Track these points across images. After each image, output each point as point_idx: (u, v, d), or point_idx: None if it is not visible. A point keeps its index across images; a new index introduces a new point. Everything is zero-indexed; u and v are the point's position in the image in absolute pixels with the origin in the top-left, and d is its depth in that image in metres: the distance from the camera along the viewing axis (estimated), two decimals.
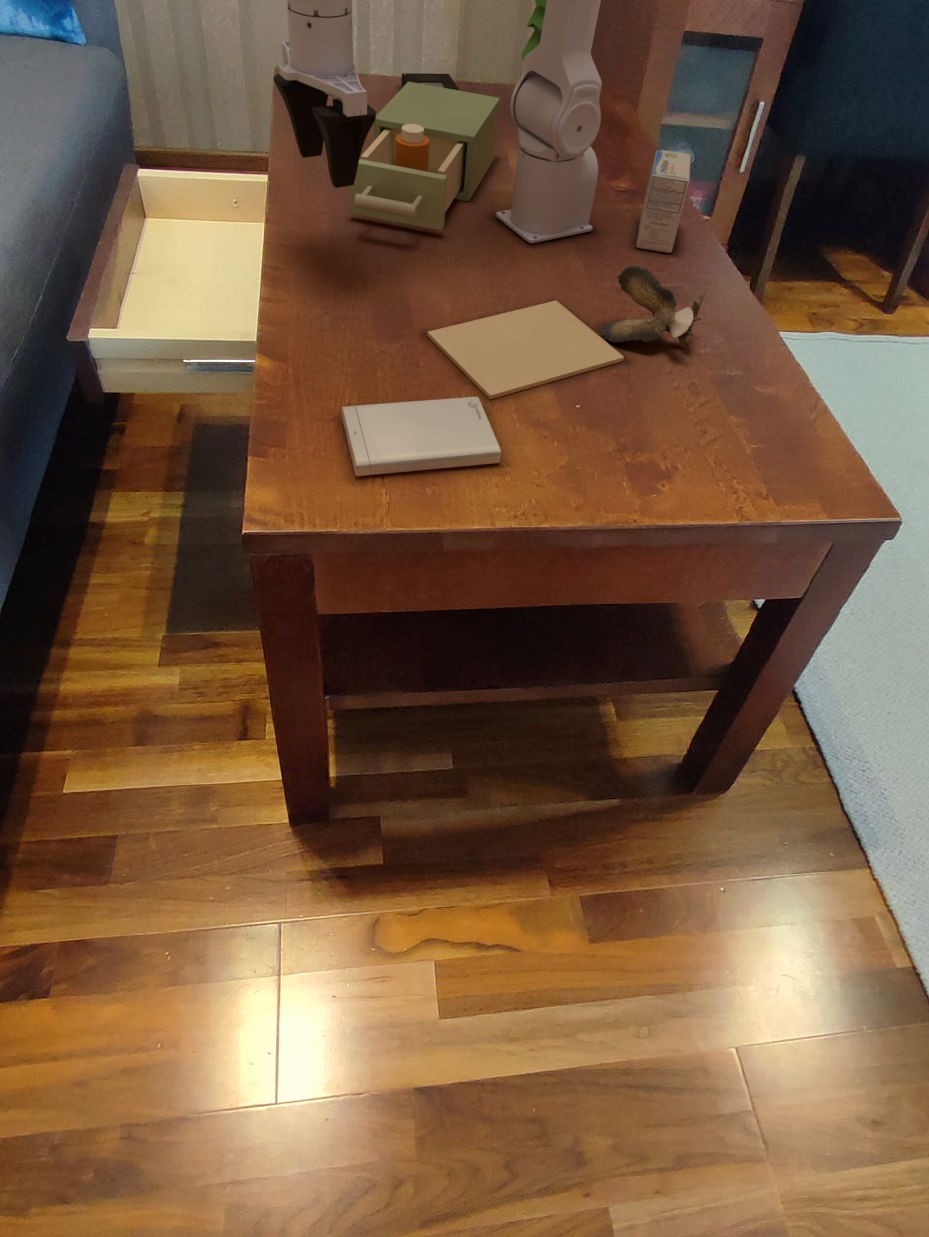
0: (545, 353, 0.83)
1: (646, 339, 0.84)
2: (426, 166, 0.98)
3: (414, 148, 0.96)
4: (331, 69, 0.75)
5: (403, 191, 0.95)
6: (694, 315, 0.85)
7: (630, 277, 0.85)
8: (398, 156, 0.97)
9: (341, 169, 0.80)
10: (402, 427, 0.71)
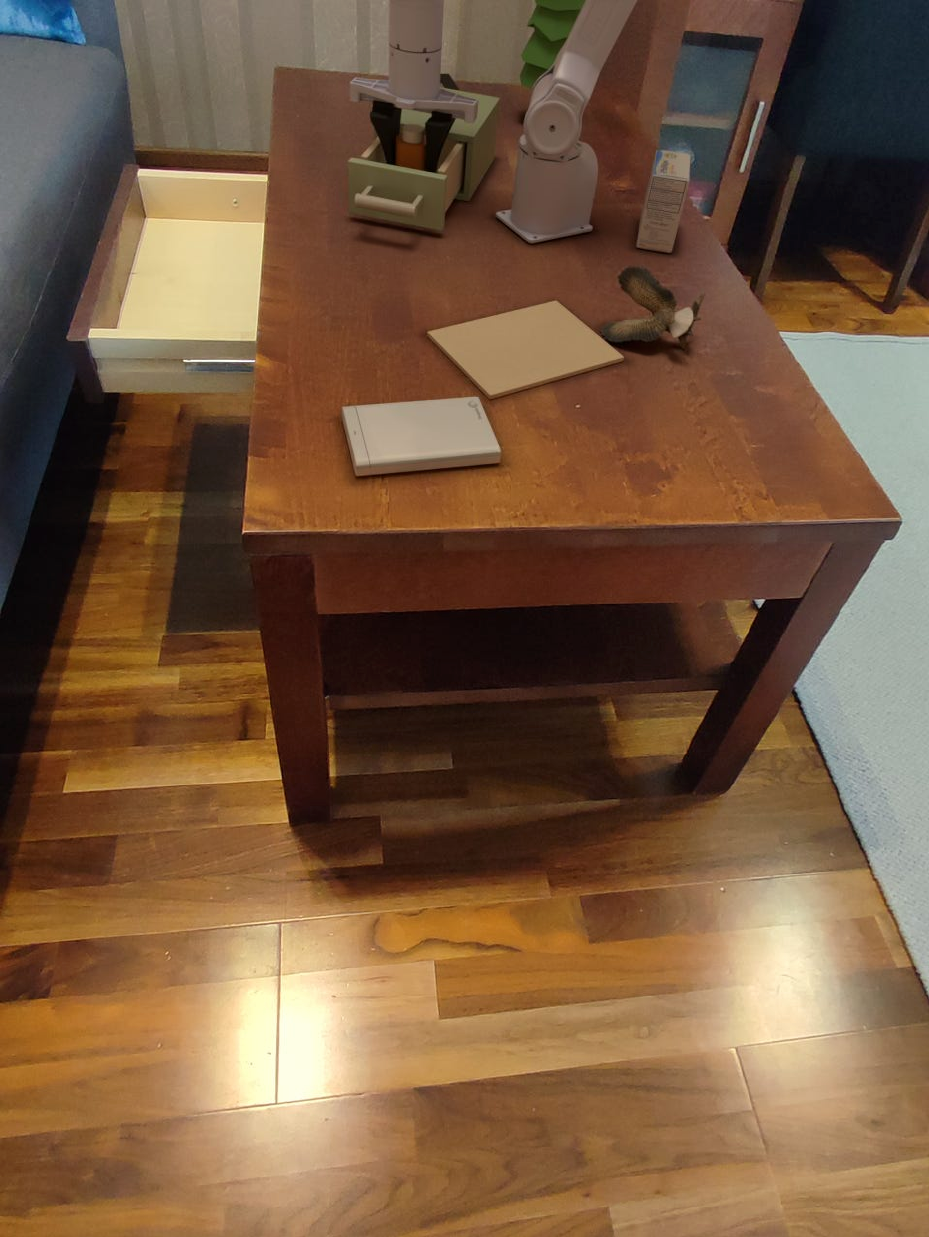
0: (545, 353, 0.83)
1: (646, 339, 0.84)
2: None
3: (414, 148, 0.96)
4: (437, 91, 0.92)
5: (403, 191, 0.95)
6: (694, 315, 0.85)
7: (630, 277, 0.85)
8: (398, 156, 0.97)
9: (433, 167, 0.98)
10: (402, 427, 0.71)
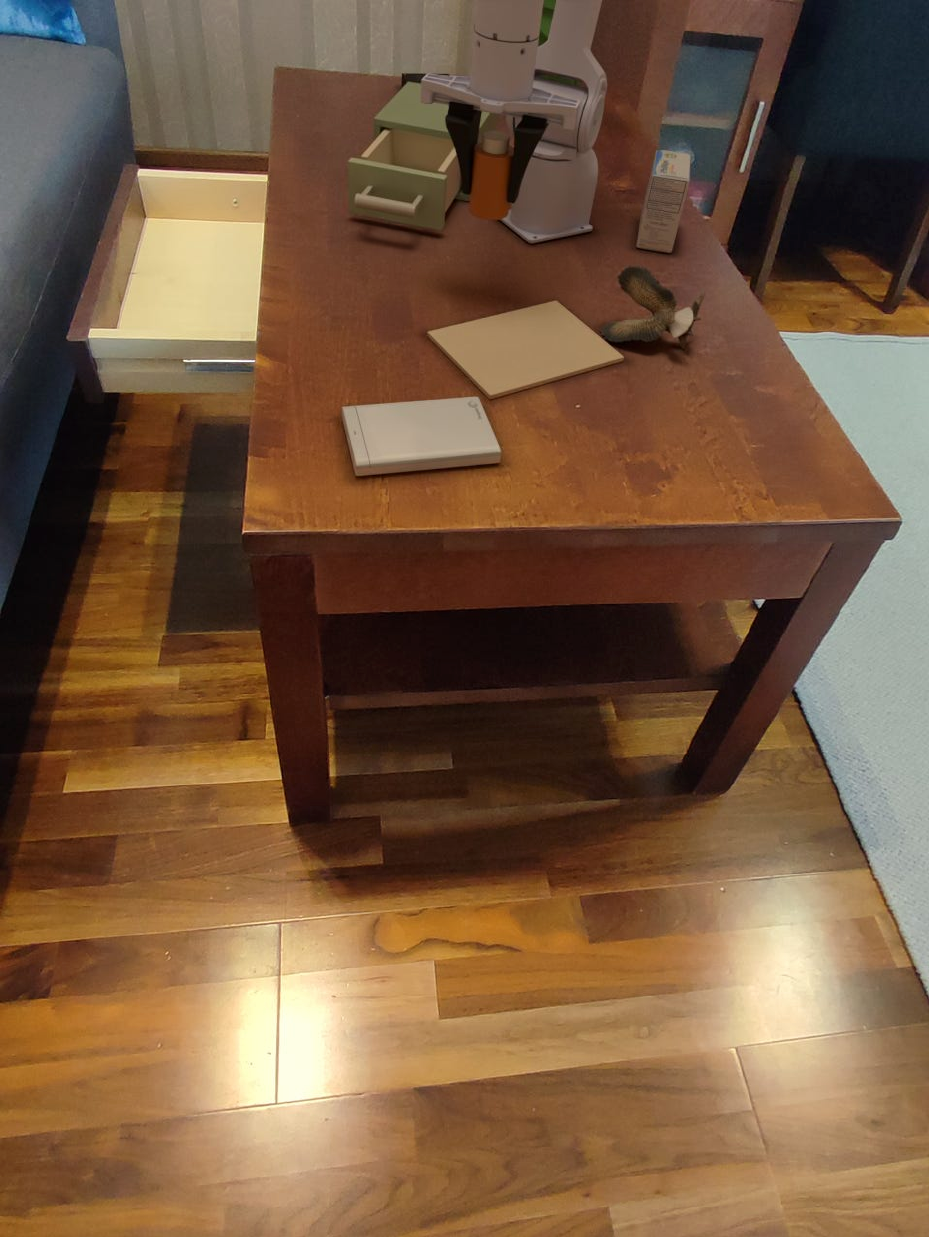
0: (545, 353, 0.83)
1: (646, 339, 0.84)
2: None
3: (498, 160, 0.78)
4: (530, 90, 0.75)
5: (403, 191, 0.95)
6: (694, 315, 0.85)
7: (630, 277, 0.85)
8: (476, 170, 0.80)
9: (519, 183, 0.81)
10: (402, 427, 0.71)
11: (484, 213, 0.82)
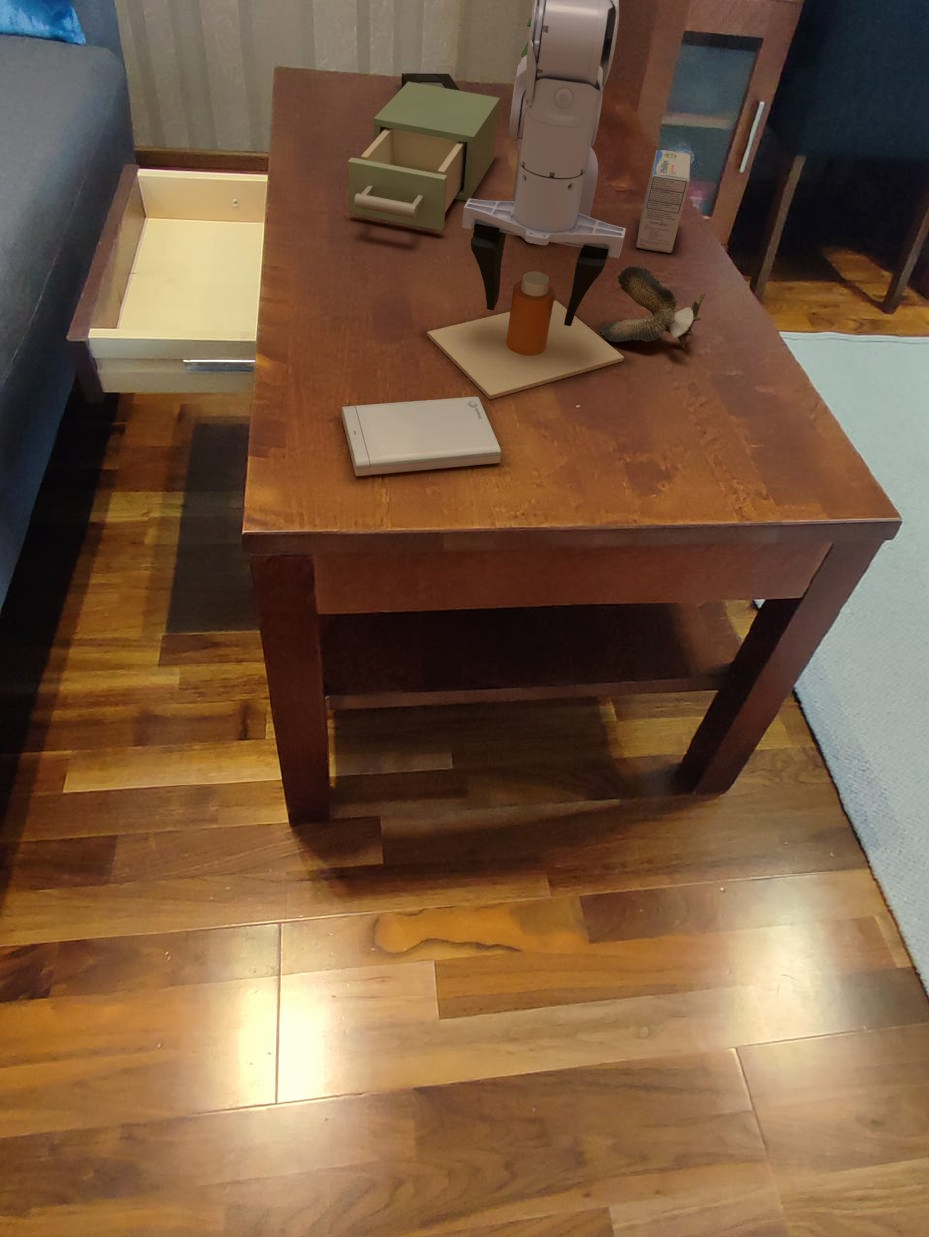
0: (545, 353, 0.83)
1: (646, 339, 0.84)
2: (549, 320, 0.81)
3: (538, 303, 0.78)
4: (576, 219, 0.73)
5: (403, 191, 0.95)
6: (694, 315, 0.85)
7: (630, 277, 0.85)
8: (516, 310, 0.80)
9: None
10: (402, 427, 0.71)
11: (522, 349, 0.82)
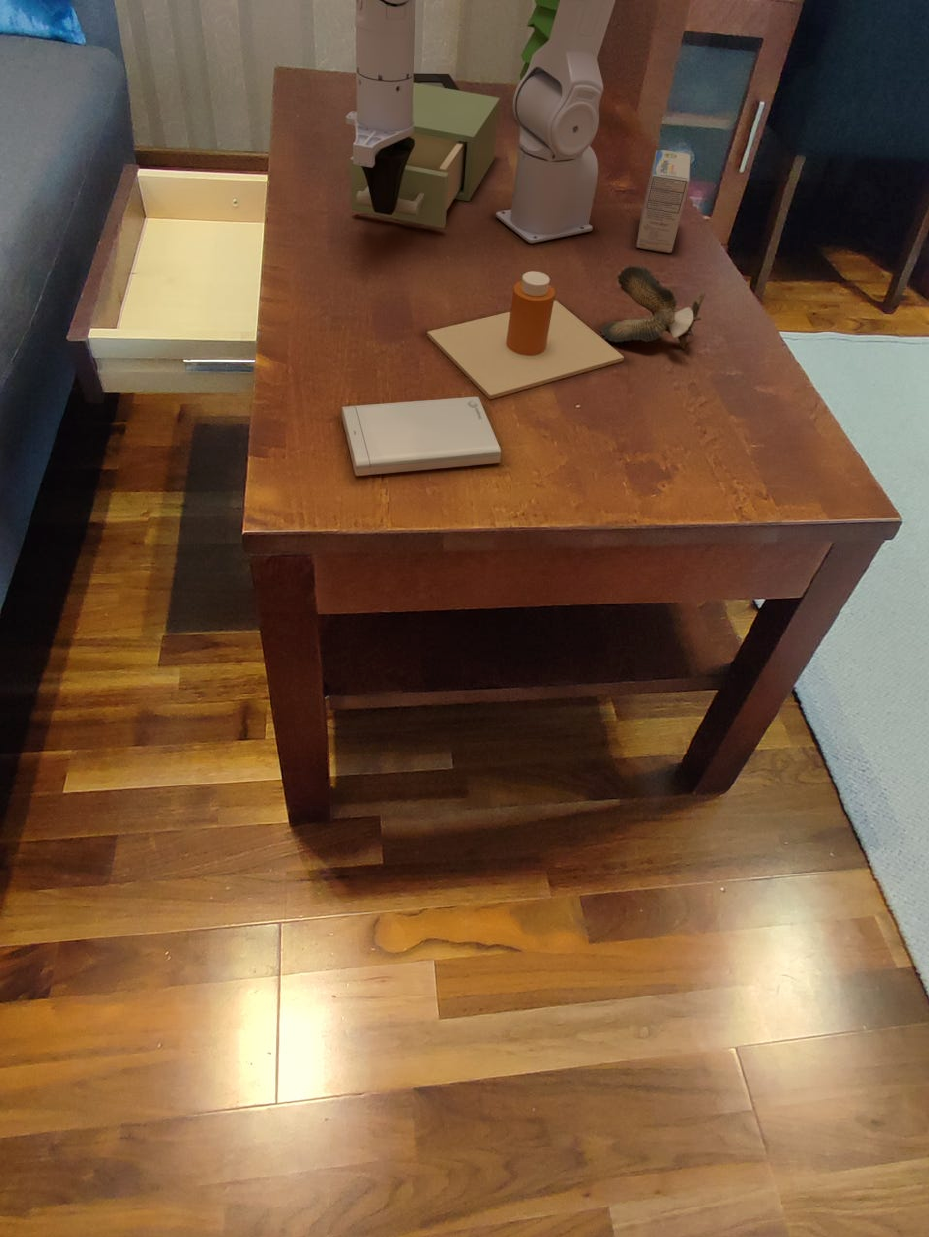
0: (545, 353, 0.83)
1: (646, 339, 0.84)
2: (549, 320, 0.81)
3: (538, 303, 0.78)
4: (372, 124, 0.84)
5: (405, 189, 0.96)
6: (694, 315, 0.85)
7: (630, 277, 0.85)
8: (516, 310, 0.80)
9: (378, 197, 0.91)
10: (402, 427, 0.71)
11: (522, 349, 0.82)
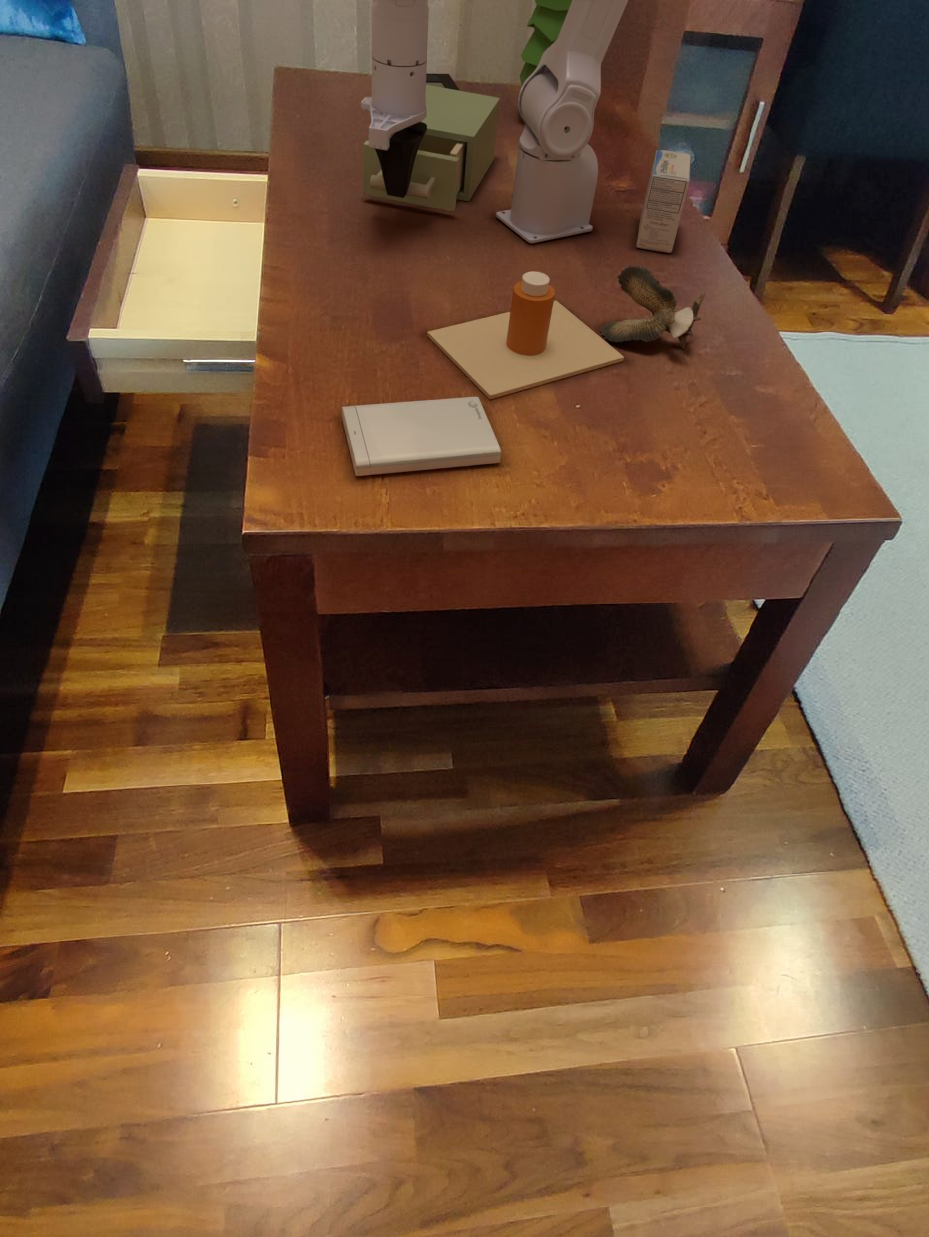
0: (545, 353, 0.83)
1: (646, 339, 0.84)
2: (549, 320, 0.81)
3: (538, 303, 0.78)
4: (387, 108, 0.87)
5: (416, 173, 0.99)
6: (694, 315, 0.85)
7: (630, 277, 0.85)
8: (516, 310, 0.80)
9: (392, 180, 0.94)
10: (402, 427, 0.71)
11: (522, 349, 0.82)
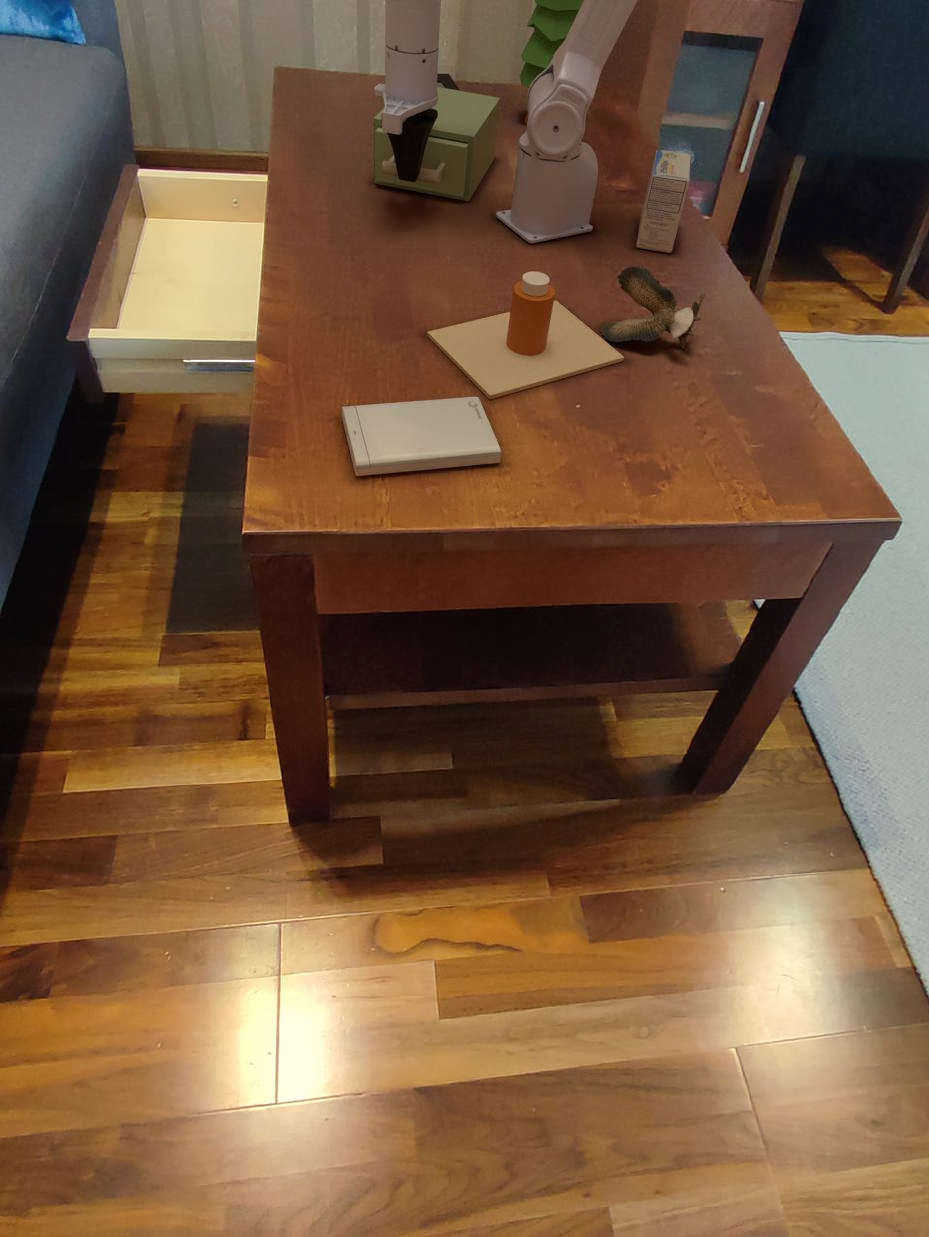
0: (545, 353, 0.83)
1: (646, 339, 0.84)
2: (549, 320, 0.81)
3: (538, 303, 0.78)
4: (400, 94, 0.90)
5: (427, 159, 1.02)
6: (694, 315, 0.85)
7: (630, 277, 0.85)
8: (516, 310, 0.80)
9: (403, 165, 0.97)
10: (402, 427, 0.71)
11: (522, 349, 0.82)
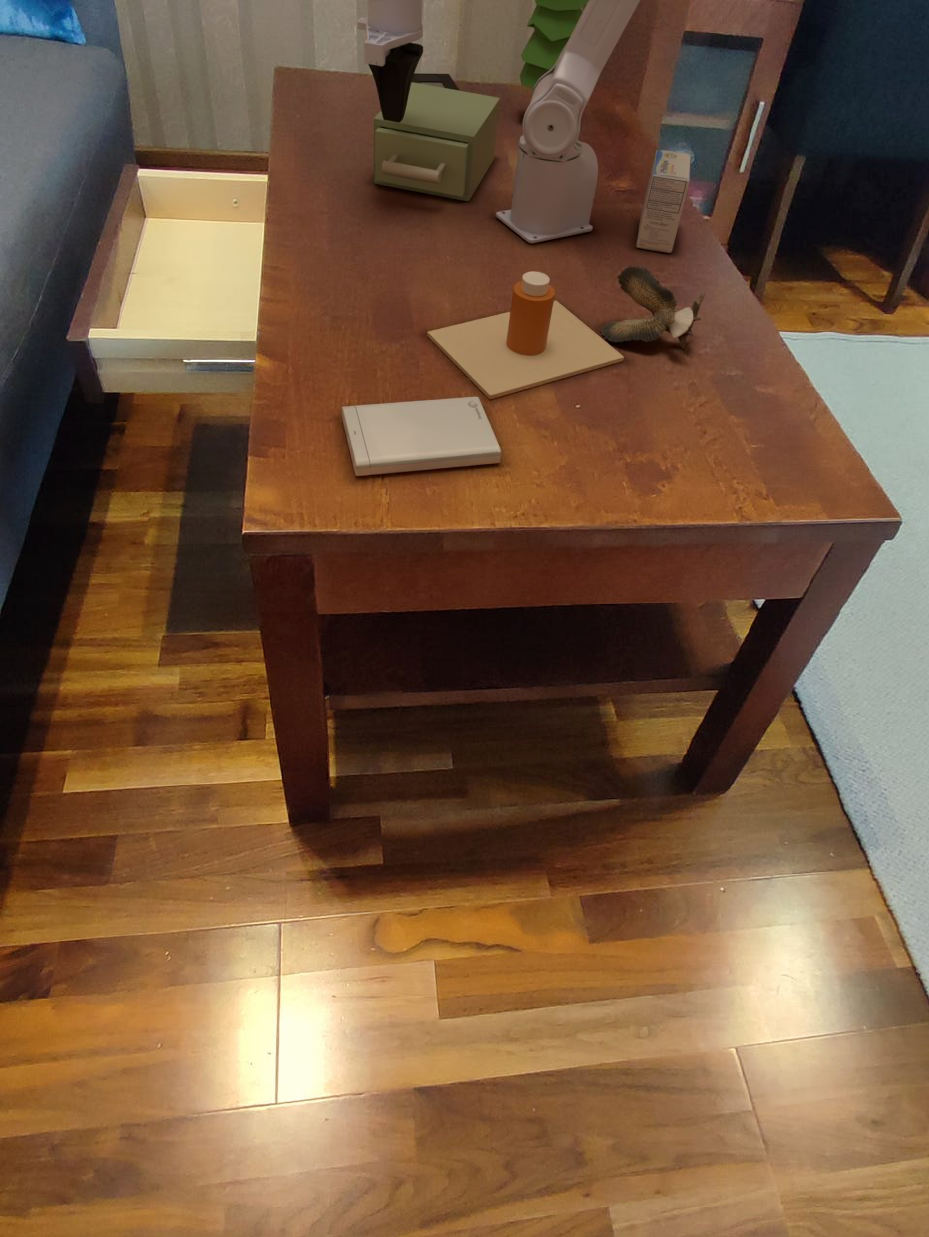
0: (545, 353, 0.83)
1: (646, 339, 0.84)
2: (549, 320, 0.81)
3: (538, 303, 0.78)
4: (383, 26, 0.87)
5: (427, 159, 1.02)
6: (694, 315, 0.85)
7: (630, 277, 0.85)
8: (516, 310, 0.80)
9: (388, 104, 0.94)
10: (402, 427, 0.71)
11: (522, 349, 0.82)
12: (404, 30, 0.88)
